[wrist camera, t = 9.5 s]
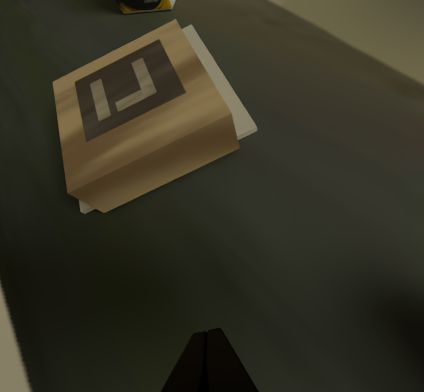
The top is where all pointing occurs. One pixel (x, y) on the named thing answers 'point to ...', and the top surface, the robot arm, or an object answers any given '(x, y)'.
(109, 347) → the top surface
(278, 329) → the top surface
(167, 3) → the medicine bottle
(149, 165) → the letter block
